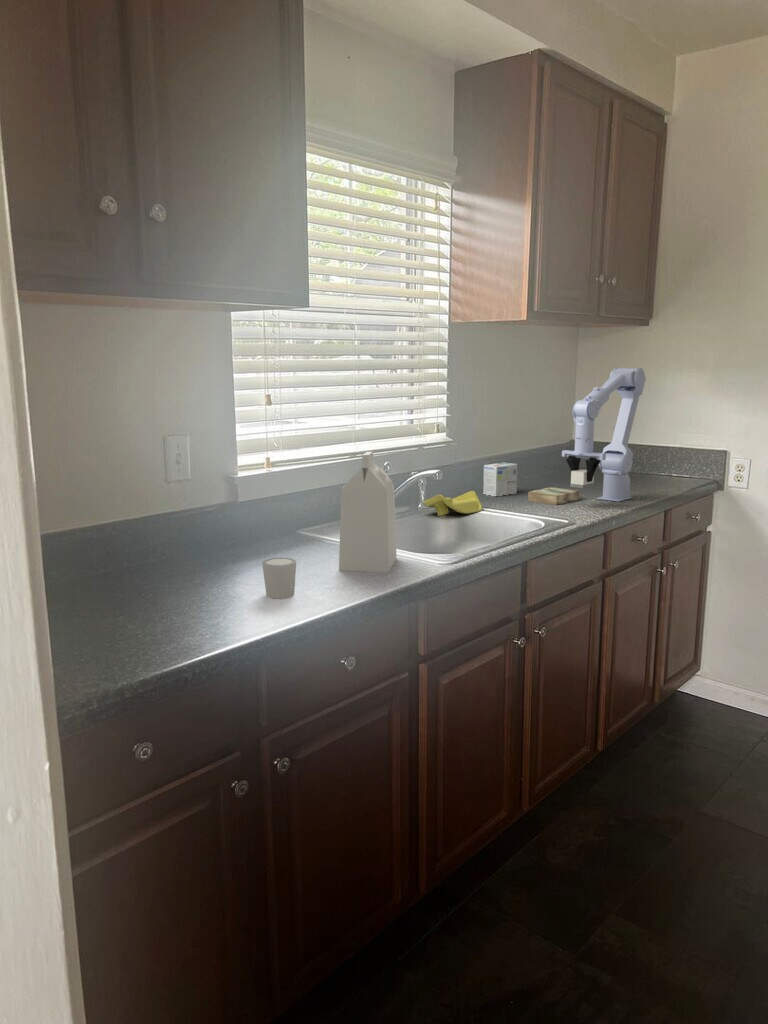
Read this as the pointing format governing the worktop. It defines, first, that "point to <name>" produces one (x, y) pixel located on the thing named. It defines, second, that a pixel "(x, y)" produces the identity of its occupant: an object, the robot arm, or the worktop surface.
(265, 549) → the worktop surface
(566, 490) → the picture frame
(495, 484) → the light bulb box
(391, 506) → the milk
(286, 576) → the shot glass
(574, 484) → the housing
